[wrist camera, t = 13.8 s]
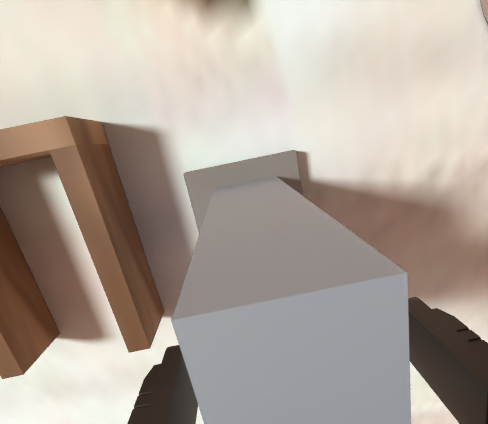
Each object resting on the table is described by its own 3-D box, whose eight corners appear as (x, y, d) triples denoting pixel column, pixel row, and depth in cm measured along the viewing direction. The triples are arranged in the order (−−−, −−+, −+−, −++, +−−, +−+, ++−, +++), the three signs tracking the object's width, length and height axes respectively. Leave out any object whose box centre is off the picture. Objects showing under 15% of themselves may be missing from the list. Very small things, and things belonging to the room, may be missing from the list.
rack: (100, 121, 18) (65, 116, 14) (164, 311, 22) (150, 348, 18) (-50, 152, 18) (-128, 155, 14) (42, 337, 22) (2, 379, 18)
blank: (276, 176, 18) (407, 272, 5) (293, 286, 21) (413, 555, 7) (213, 188, 18) (171, 320, 5) (238, 297, 21) (256, 587, 7)
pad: (292, 150, 19) (296, 150, 18) (312, 291, 22) (316, 298, 21) (185, 172, 19) (183, 174, 18) (221, 310, 22) (221, 317, 21)
